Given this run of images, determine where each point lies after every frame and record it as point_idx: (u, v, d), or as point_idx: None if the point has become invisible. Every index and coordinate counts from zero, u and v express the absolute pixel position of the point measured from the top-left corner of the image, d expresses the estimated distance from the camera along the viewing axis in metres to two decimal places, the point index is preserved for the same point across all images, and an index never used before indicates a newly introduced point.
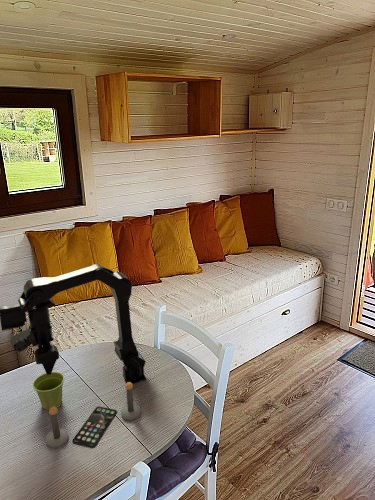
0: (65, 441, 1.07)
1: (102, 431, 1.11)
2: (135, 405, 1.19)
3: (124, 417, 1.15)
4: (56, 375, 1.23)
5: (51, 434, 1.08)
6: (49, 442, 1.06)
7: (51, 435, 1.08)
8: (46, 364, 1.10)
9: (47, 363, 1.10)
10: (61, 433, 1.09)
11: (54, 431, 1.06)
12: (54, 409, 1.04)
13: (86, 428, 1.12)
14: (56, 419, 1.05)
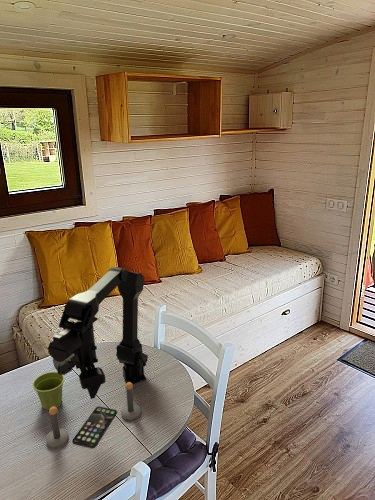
0: (65, 441, 1.07)
1: (102, 431, 1.11)
2: (135, 405, 1.19)
3: (124, 417, 1.15)
4: (56, 375, 1.23)
5: (51, 434, 1.08)
6: (49, 442, 1.06)
7: (51, 435, 1.08)
8: (91, 387, 1.03)
9: (92, 387, 1.03)
10: (61, 433, 1.09)
11: (54, 431, 1.06)
12: (54, 409, 1.04)
13: (86, 428, 1.12)
14: (56, 419, 1.05)
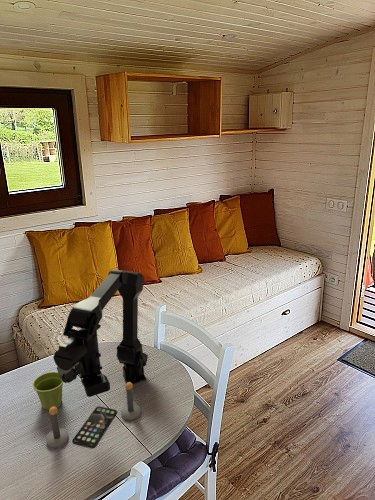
0: (65, 441, 1.07)
1: (102, 431, 1.11)
2: (135, 405, 1.19)
3: (124, 417, 1.15)
4: (56, 375, 1.23)
5: (51, 434, 1.08)
6: (49, 442, 1.06)
7: (51, 435, 1.08)
8: None
9: None
10: (61, 433, 1.09)
11: (54, 431, 1.06)
12: (54, 409, 1.04)
13: (86, 428, 1.12)
14: (56, 419, 1.05)
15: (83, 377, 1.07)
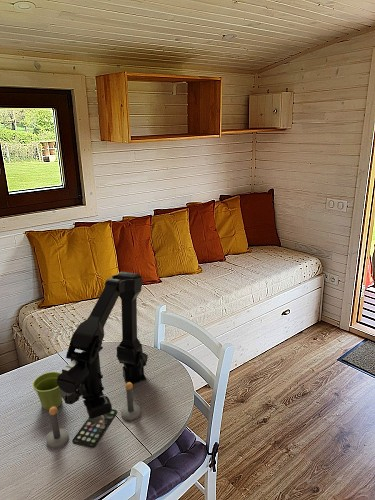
0: (65, 441, 1.07)
1: (102, 431, 1.11)
2: (135, 405, 1.19)
3: (124, 417, 1.15)
4: (56, 375, 1.23)
5: (51, 434, 1.08)
6: (49, 442, 1.06)
7: (51, 435, 1.08)
8: None
9: None
10: (61, 433, 1.09)
11: (54, 431, 1.06)
12: (54, 409, 1.04)
13: (86, 428, 1.12)
14: (56, 419, 1.05)
15: (85, 397, 1.09)
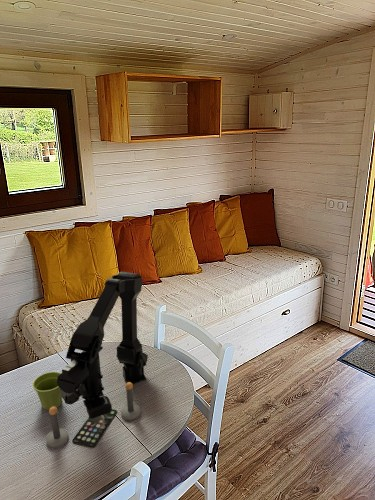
0: (65, 441, 1.07)
1: (102, 431, 1.11)
2: (135, 405, 1.19)
3: (124, 417, 1.15)
4: (57, 375, 1.23)
5: (51, 434, 1.08)
6: (49, 442, 1.06)
7: (51, 435, 1.08)
8: None
9: None
10: (61, 433, 1.09)
11: (54, 431, 1.06)
12: (54, 409, 1.04)
13: (86, 428, 1.12)
14: (56, 419, 1.05)
15: (85, 397, 1.09)
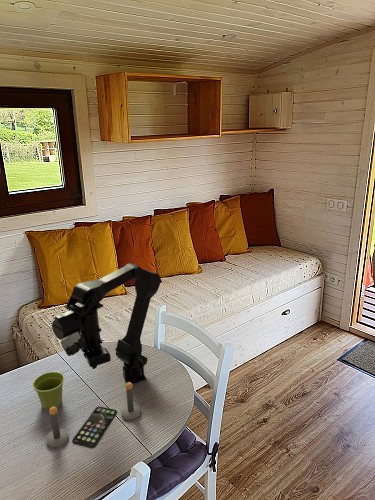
0: (65, 441, 1.07)
1: (102, 431, 1.11)
2: (135, 405, 1.19)
3: (124, 417, 1.15)
4: (56, 375, 1.23)
5: (51, 434, 1.08)
6: (49, 442, 1.06)
7: (51, 435, 1.08)
8: None
9: None
10: (61, 433, 1.09)
11: (54, 431, 1.06)
12: (54, 409, 1.04)
13: (86, 428, 1.12)
14: (56, 419, 1.05)
15: (85, 351, 1.16)
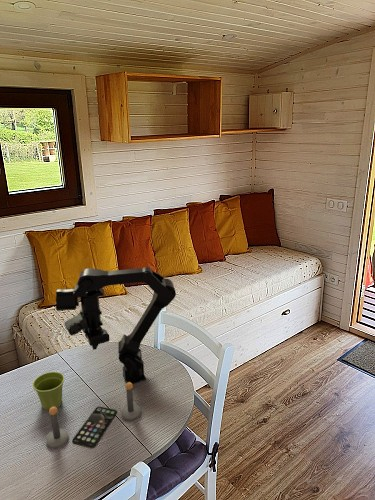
0: (65, 441, 1.07)
1: (102, 431, 1.10)
2: (135, 405, 1.19)
3: (124, 417, 1.15)
4: (57, 375, 1.23)
5: (51, 434, 1.08)
6: (49, 442, 1.06)
7: (51, 435, 1.08)
8: None
9: None
10: (61, 433, 1.09)
11: (54, 431, 1.06)
12: (54, 409, 1.04)
13: (86, 428, 1.12)
14: (56, 419, 1.05)
15: (86, 333, 1.26)
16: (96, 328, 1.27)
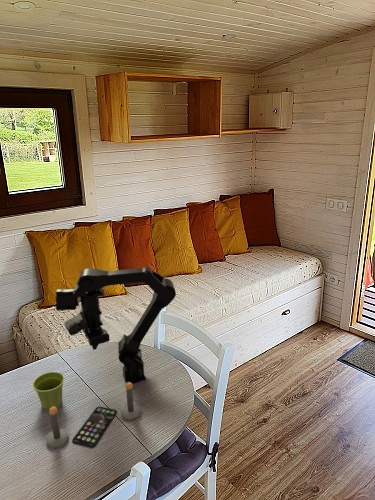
0: (65, 441, 1.07)
1: (102, 431, 1.10)
2: (135, 405, 1.19)
3: (124, 417, 1.15)
4: (57, 375, 1.23)
5: (51, 434, 1.08)
6: (49, 442, 1.06)
7: (51, 435, 1.08)
8: None
9: None
10: (61, 433, 1.09)
11: (54, 431, 1.06)
12: (54, 409, 1.04)
13: (86, 428, 1.12)
14: (56, 419, 1.05)
15: (86, 333, 1.26)
16: (96, 328, 1.27)
